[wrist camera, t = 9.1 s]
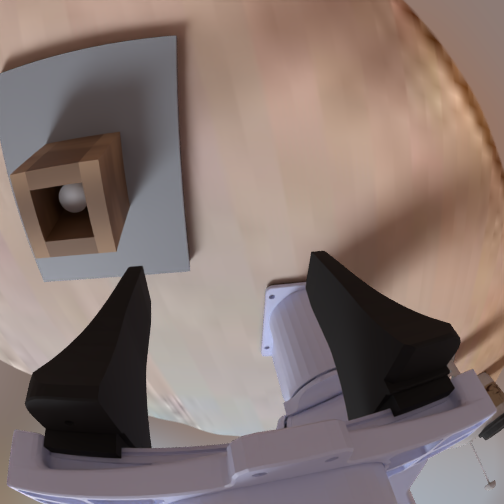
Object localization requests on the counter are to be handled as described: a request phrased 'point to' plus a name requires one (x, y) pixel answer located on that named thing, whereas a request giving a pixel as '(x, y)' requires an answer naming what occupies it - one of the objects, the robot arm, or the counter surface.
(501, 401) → the coffee cup
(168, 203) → the pin plate
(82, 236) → the walnut collar
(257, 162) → the counter surface
